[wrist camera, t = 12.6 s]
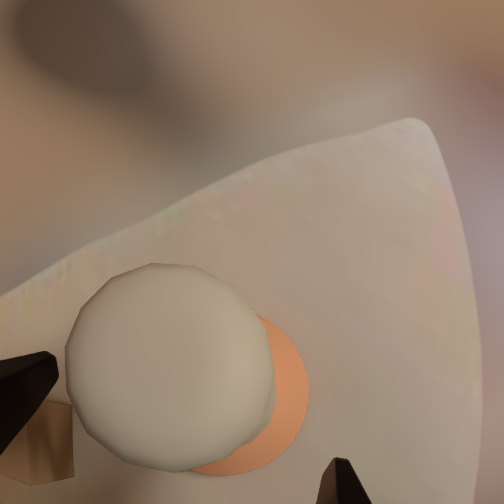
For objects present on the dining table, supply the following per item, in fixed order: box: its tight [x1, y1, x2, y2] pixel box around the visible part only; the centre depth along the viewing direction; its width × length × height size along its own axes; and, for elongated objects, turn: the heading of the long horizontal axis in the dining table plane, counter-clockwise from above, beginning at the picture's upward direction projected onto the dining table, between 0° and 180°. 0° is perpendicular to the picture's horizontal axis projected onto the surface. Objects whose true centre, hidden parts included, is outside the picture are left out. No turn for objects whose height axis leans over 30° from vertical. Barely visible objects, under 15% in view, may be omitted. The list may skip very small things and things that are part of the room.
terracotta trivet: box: [191, 314, 309, 476], centre depth 17 cm, size 10×10×1 cm
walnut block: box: [0, 400, 74, 486], centre depth 13 cm, size 5×5×5 cm
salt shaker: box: [65, 263, 278, 472], centre depth 11 cm, size 6×6×13 cm
